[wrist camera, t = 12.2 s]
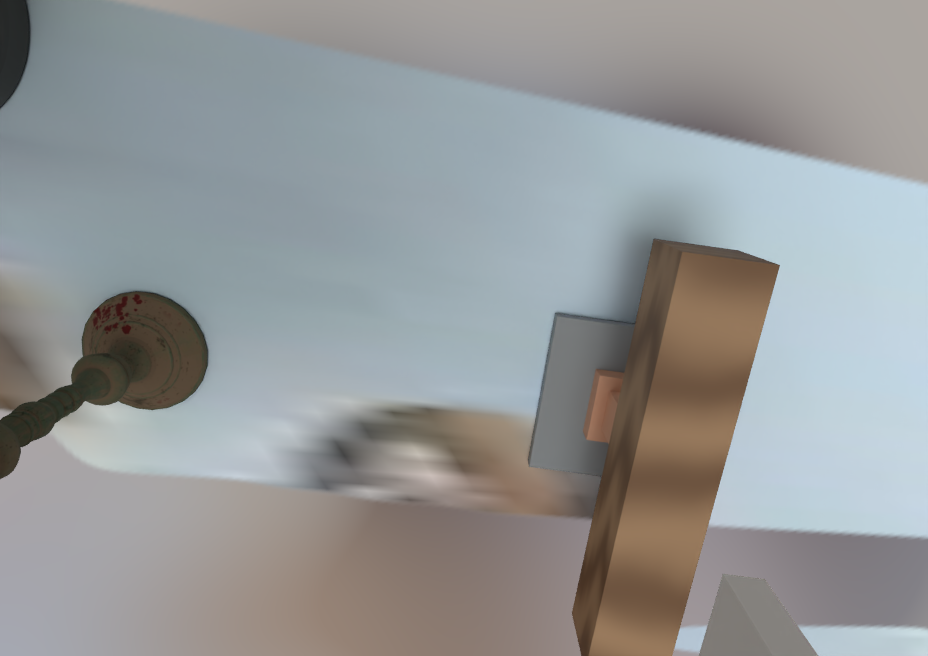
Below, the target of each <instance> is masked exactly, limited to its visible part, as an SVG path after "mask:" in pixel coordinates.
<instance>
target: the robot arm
mask: <svg viewBox="0 0 928 656" xmlns="http://www.w3.org/2000/svg"><path fill="white" fill-rule="evenodd" d="M28 41H29V25H28V14H27V8H26V3H25V0H0V107H1V106H2V105H3V104H4V103H5V101H6V100H7V99H8V98H9V96H10V95H11V94H12V92H13V91H14V89H15V87H16V85H17V83H18V81H19V79H20V77H21V74H22V71H23V69H24V65H25V61H26V56H27V51H28ZM699 656H818V655H817V653H816V652H815V650H814V649H813V648H812V646H811V645H810V643H809V642H808V640H807V639H806V638H805V636H804V635H803V633H802V632H801V630H800V629H799V628H798V626H797V625H796V623H795V622H794V620H793V619H792V617H791V616H790V615H789V613H788V612H787V610H786V609H785V607H784V606H783V605H782V603H781V602H780V600H779V599H778V597H777V596H776V595H775V593H774V592H773V590H772V589H771V587H770V586H769V585H768V583H767V582H766V580H765V579H759V578H751V577H743V576H735V575H726V574H723V575H722V579H721V582H720V586H719V589H718V592H717V596H716V599H715V603H714V606H713V609H712V613H711V616H710V619H709V623H708V626H707V630H706V633H705V636H704V640H703V643H702V647H701V650H700V653H699Z"/></svg>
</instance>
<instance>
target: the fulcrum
mask: <svg viewBox="0 0 928 656" xmlns="http://www.w3.org/2000/svg"><path fill="white" fill-rule="evenodd" d="M634 327H635V324H631V323H623V322H616V321H609V320H602V319H595V318H587V317H580V316H573V315H566V314H559V313H555V318H554V323H553V328H552V334H551V339H550V345H549V350H548V355H547V361H546V366H545V372H544V377H543V382H542V388H541V393H540V398H539V404H538V409H537V415H536V420H535V425H534V431H533V436H532V442H531V447H530V452H529V458H528V463H529V467H535V468H543V469H550V470H558V471H566V472H573V473H581V474H589V475H596V476H602V473H603V469H604V464H605V459H606V455H607V450H608V446H609V441H610V437H611V432H612V427H613V423H614V418H615V414H616V409H617V405H618V400H619V395H620V391H621V386H622V382H623V377H624V372H625V368H626V363H627V359H628V354H629V350H630V345H631V340H632V336H633V331H634Z"/></svg>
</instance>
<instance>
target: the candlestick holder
mask: <svg viewBox="0 0 928 656" xmlns="http://www.w3.org/2000/svg"><path fill="white" fill-rule="evenodd" d="M82 352H83V357H82V358H81V359H80V360H79V361H78V362H77V363H76V364H75V366H74V368H73V370H72V374H71V379H72V384H71V385H68V386H64V387H61V388H59V389H57V390H55V391H54V393H51V394H49V395H48V396H46V397H45V398H42V399H40V400H39V401H37V402H28V403H24V404H21V405H20V406H18V407H17V408H16V409H15V410H13V411H12V413H11V414H9V415H7V416H5V417H3V418H2V419H1V420H0V479H1V478H3V477H5V476H7V475H9V474H10V473H11V472H12V471H13V470H14V468H15V467H16V465H17V463H18V461H19V457H20V453H21V449H20V447H23V446H26V445H28V444H29V443H30V442H31V441H33V440H37V439H39V438H41V437H43V436H46V435H47V434H48V433H49V432H50V431H51V430H52V428H53V426H54V424H55V423H56V422H58V421H59V420H60V419H61V418H63V417H65V416H67V415H69V414H70V413H72V412H74V411H76V410H77V409H78V408H79V407H80V406H81V405H82V404H83V402H84V401H87V402H89V403H92V404H95V405H109V404H112V403H115V402H117V401H119V402H121V403H123V404H126V405H129V406H132V407H135V408H139V409H149V410H155V409H163V408H168V407H171V406H173V405H176V404H178V403H180V402H183V401H184V400H185V399H187V398H188V397H189V396H190V395H192V394H193V393H194V392H195V391H196V389H197V388H198V386H199V385H200V383H201V382H202V380H203V377H204V374H205V371H206V367H207V348H206V344H205V340H204V337H203V334H202V332H201V331H200V329H199V327H198V325H197V324H196V322H195V320H194V319H193V318H192V317H191V316H190V315H189V314H188V313H187V312H186V311H185V310H184V309H183V308H182V307H180V306H179V305H177V304H176V303H174V302H173V301H171V300H170V299H167V298H164V297H162V296H159V295H156V294H153V293H145V292H130V293H123V294H119V295H117V296H114V297H112V298H110V299H108V300H106V301H105V302H103V303H102V304H101V305H100V306H99V307H98V308H97V309H96V310H94V311H93V313H92V314H91V316H90V318H89V319H88V321H87V323H86V324H85V328H84V332H83V336H82Z"/></svg>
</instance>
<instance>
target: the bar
mask: <svg viewBox="0 0 928 656" xmlns="http://www.w3.org/2000/svg"><path fill="white" fill-rule="evenodd" d="M779 266H780V265H778V264H775V263H772V262H769V261H766V260H764V259H761V258H758V257H755V256H752V255H749V254H747V253H744V252H741V251H738V250H731V249H724V248H716V247H709V246H702V245H695V244H688V243H681V242H673V241H666V240H659V239H654V240H653V244H652V249H651V253H650V258H649V263H648V267H647V272H646V276H645V281H644V286H643V290H642V295H641V299H640V304H639V308H638V313H637V318H636V322H635V327H634V331H633V336H632V340H631V345H630V350H629V354H628V359H627V363H626V368H625V372H624V377H623V382H622V386H621V391H620V395H619V400H618V405H617V409H616V414H615V418H614V423H613V427H612V432H611V437H610V441H609V446H608V450H607V455H606V459H605V464H604V469H603V473H602V478H601V482H600V487H599V492H598V496H597V501H596V505H595V510H594V514H593V519H592V524H591V528H590V533H589V538H588V542H587V547H586V551H585V556H584V560H583V565H582V569H581V574H580V579H579V583H578V588H577V592H576V597H575V602H574V606H573V611H572V616H573V620H574V625H575V629H576V634H577V638H578V642H579V647H580V651H581V656H672V654H673V651H674V647H675V643H676V640H677V636H678V632H679V629H680V625H681V622H682V618H683V614H684V611H685V607H686V603H687V600H688V596H689V592H690V589H691V585H692V582H693V578H694V574H695V571H696V567H697V563H698V560H699V556H700V553H701V549H702V545H703V542H704V538H705V535H706V531H707V527H708V524H709V520H710V516H711V513H712V509H713V506H714V502H715V498H716V495H717V491H718V487H719V484H720V480H721V477H722V473H723V469H724V466H725V462H726V458H727V455H728V451H729V448H730V444H731V440H732V437H733V433H734V429H735V426H736V422H737V419H738V415H739V411H740V408H741V404H742V400H743V397H744V393H745V390H746V386H747V382H748V379H749V375H750V371H751V368H752V364H753V361H754V357H755V353H756V350H757V346H758V342H759V339H760V335H761V332H762V328H763V324H764V321H765V317H766V314H767V310H768V306H769V303H770V299H771V295H772V292H773V288H774V285H775V281H776V277H777V274H778V270H779Z"/></svg>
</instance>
